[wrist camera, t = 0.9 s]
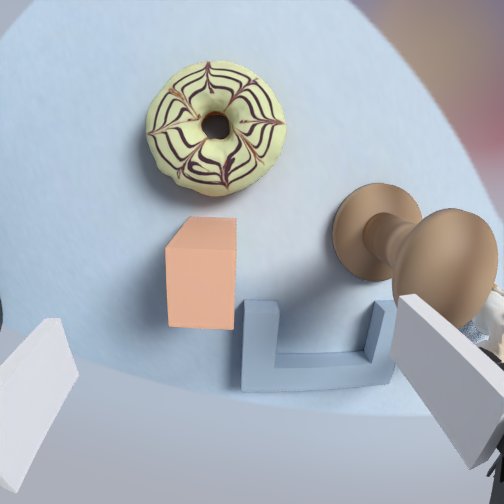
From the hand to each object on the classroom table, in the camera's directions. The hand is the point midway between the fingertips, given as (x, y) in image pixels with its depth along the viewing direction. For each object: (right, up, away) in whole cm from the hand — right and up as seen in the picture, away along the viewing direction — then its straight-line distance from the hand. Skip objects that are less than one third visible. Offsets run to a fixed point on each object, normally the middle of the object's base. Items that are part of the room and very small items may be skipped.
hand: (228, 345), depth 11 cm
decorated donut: (-2, +14, +14) cm, 20 cm away
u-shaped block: (+8, -6, +20) cm, 22 cm away
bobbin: (+13, +5, +17) cm, 22 cm away
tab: (-3, +4, +17) cm, 17 cm away
